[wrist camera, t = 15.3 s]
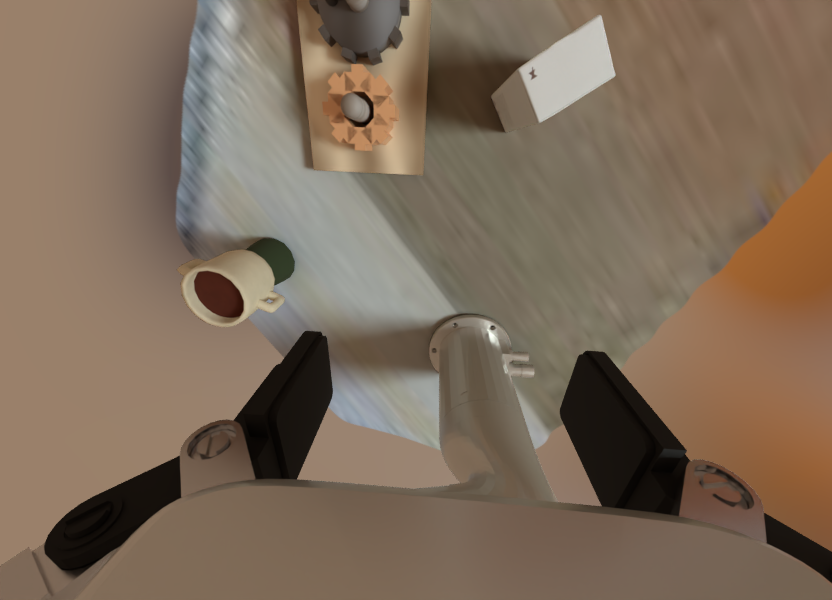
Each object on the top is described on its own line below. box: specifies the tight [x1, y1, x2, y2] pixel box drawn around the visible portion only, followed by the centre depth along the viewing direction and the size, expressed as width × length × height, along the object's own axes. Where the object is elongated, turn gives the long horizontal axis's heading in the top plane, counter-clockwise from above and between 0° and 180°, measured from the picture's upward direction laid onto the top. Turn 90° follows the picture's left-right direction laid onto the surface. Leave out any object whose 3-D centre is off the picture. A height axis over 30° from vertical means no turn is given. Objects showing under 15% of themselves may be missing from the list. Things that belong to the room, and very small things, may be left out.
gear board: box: [296, 0, 432, 175], centre depth 28 cm, size 13×20×8 cm, turn 178°
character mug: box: [177, 239, 295, 327], centre depth 37 cm, size 11×7×13 cm, turn 63°
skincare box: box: [491, 15, 615, 133], centre depth 27 cm, size 6×4×12 cm
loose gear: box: [322, 64, 399, 151], centre depth 31 cm, size 7×7×4 cm
